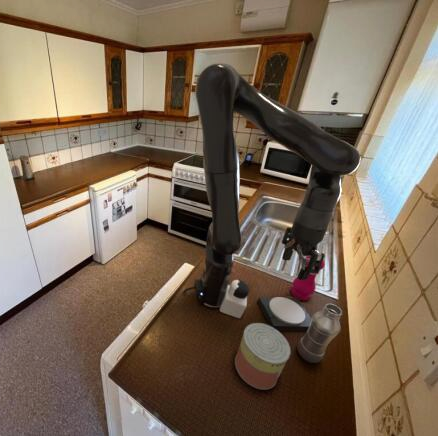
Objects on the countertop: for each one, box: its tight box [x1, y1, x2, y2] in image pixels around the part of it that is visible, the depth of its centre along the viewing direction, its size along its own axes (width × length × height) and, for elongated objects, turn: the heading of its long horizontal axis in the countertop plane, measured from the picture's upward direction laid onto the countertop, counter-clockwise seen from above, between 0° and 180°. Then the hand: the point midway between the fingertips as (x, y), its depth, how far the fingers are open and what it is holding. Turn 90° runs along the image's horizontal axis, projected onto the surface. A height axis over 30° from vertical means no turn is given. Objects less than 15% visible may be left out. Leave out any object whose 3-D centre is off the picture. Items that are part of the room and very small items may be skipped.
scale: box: [257, 296, 312, 332], centre depth 83 cm, size 14×12×3 cm
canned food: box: [234, 322, 292, 391], centre depth 65 cm, size 11×11×12 cm
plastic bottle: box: [296, 303, 343, 364], centre depth 66 cm, size 6×7×20 cm
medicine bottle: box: [219, 279, 251, 319], centre depth 83 cm, size 7×7×12 cm
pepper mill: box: [290, 255, 326, 301], centre depth 87 cm, size 7×7×20 cm
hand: (293, 268), depth 70 cm, fingers open, 8 cm apart
